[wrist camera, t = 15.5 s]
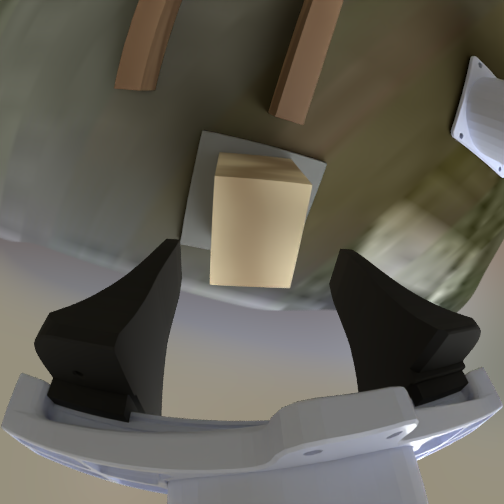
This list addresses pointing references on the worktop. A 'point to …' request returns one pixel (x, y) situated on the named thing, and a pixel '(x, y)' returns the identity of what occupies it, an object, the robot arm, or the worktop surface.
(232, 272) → the maple block
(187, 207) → the gray mat
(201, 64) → the worktop surface
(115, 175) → the worktop surface
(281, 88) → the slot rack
